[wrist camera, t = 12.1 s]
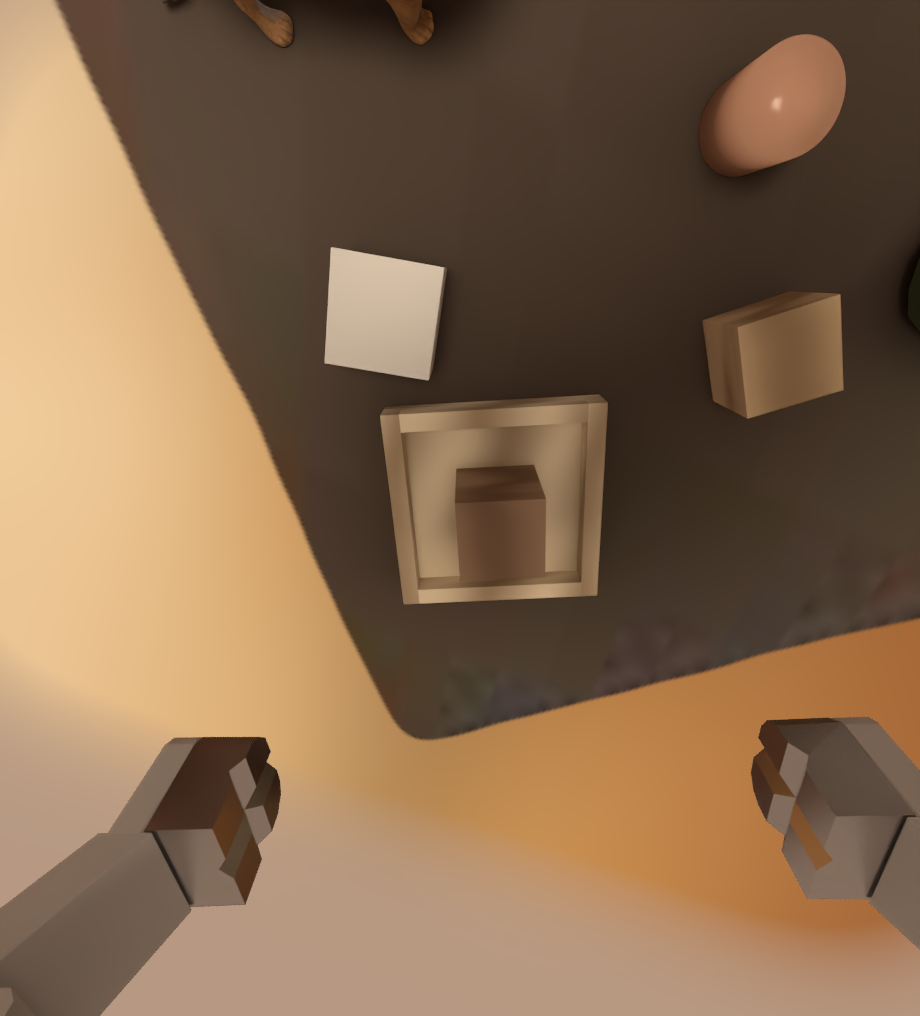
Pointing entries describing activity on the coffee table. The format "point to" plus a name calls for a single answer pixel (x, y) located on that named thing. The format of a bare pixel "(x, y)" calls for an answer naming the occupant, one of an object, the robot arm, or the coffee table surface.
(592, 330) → the coffee table surface
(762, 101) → the pinkish tan rounded lump
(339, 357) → the white plastic block
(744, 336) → the oak block
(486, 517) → the walnut block
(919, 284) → the character mug
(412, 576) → the birch tray
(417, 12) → the lion figurine
